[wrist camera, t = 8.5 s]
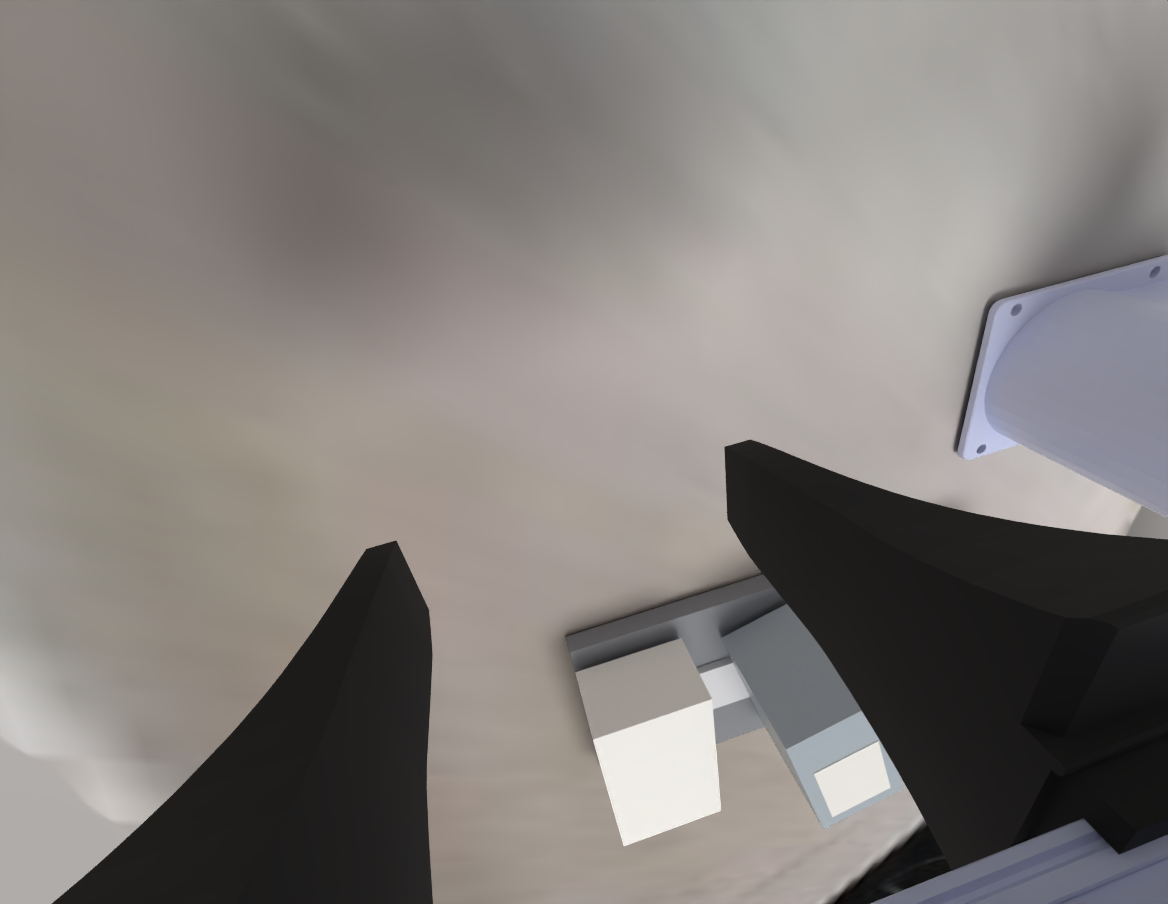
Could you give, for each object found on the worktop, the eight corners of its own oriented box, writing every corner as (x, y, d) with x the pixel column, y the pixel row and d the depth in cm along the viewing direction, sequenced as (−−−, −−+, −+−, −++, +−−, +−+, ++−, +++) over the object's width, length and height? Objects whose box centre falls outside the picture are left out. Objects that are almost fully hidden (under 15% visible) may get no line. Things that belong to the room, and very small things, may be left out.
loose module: (799, 597, 27) (883, 700, 22) (829, 687, 32) (904, 790, 27) (720, 637, 27) (786, 750, 22) (762, 722, 32) (824, 830, 27)
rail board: (954, 513, 29) (1040, 573, 25) (920, 655, 35) (984, 722, 31) (565, 636, 27) (589, 726, 22) (602, 765, 33) (626, 854, 29)
